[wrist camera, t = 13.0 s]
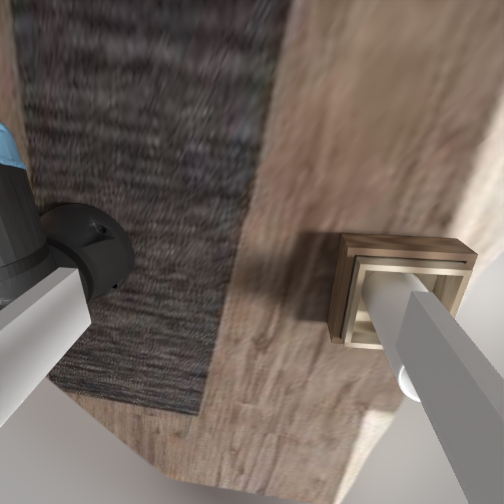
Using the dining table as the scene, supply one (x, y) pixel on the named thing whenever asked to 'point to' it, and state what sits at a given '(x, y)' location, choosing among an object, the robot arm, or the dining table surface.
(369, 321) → the birch crate
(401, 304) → the cup
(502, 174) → the dining table surface
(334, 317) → the box
